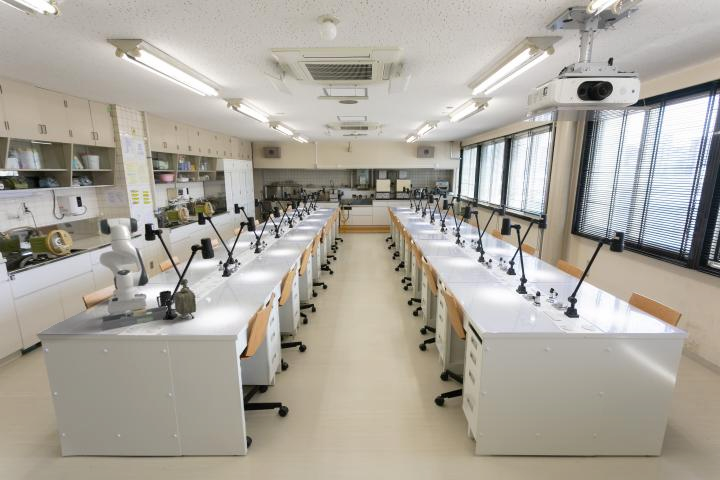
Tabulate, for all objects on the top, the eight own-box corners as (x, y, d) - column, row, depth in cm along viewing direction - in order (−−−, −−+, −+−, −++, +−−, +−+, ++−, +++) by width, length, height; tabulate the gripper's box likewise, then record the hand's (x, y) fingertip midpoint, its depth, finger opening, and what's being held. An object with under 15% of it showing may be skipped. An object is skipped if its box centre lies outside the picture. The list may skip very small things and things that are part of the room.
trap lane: (103, 324, 209) (102, 317, 208) (167, 312, 229) (166, 305, 228) (102, 330, 201) (101, 322, 200) (168, 317, 221) (168, 310, 220)
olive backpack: (196, 318, 220) (194, 282, 215) (182, 322, 213) (178, 285, 209) (189, 312, 230) (186, 277, 226) (175, 316, 224) (172, 280, 219)
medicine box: (124, 312, 229) (122, 300, 227) (126, 314, 226) (124, 302, 224) (110, 315, 223) (108, 303, 221) (112, 317, 220) (110, 305, 218)
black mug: (167, 305, 242) (166, 290, 240) (174, 307, 239) (173, 291, 237) (154, 310, 232) (152, 294, 230) (161, 312, 230) (160, 295, 228)
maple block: (133, 316, 215) (132, 309, 215) (146, 313, 219) (145, 307, 219) (133, 318, 211) (133, 311, 211) (146, 316, 215) (146, 309, 215)
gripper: (145, 291, 218) (147, 311, 220) (106, 297, 206) (109, 318, 209) (146, 294, 213) (148, 314, 215) (106, 300, 201) (109, 321, 203)
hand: (128, 316), depth 212 cm, fingers closed
